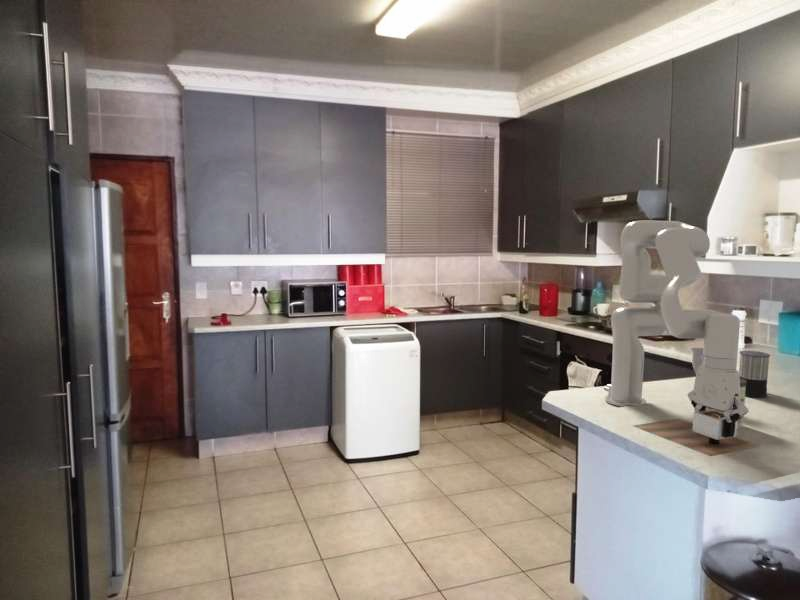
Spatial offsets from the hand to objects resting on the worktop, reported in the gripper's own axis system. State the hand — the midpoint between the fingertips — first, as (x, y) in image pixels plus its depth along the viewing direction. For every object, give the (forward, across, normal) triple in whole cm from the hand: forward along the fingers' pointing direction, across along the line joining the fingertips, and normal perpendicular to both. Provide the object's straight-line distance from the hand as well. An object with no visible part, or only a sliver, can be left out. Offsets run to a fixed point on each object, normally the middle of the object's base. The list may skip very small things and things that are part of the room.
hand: (714, 431), depth 142 cm
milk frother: (+5, -35, +60) cm, 69 cm away
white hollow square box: (+1, 0, 0) cm, 1 cm away
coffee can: (+5, -11, +18) cm, 22 cm away
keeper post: (+3, 0, 0) cm, 3 cm away
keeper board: (+4, -6, 0) cm, 7 cm away
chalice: (+5, -30, +33) cm, 45 cm away
